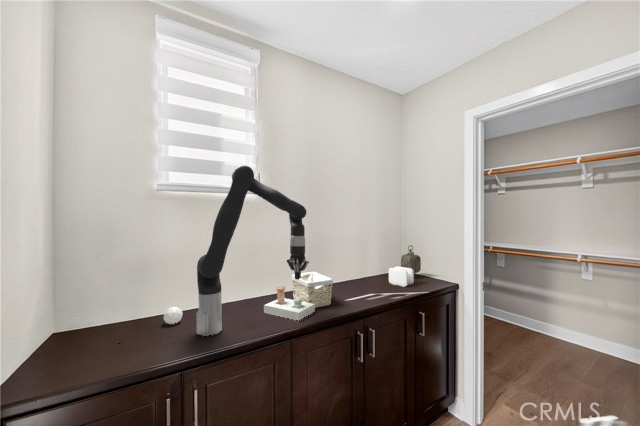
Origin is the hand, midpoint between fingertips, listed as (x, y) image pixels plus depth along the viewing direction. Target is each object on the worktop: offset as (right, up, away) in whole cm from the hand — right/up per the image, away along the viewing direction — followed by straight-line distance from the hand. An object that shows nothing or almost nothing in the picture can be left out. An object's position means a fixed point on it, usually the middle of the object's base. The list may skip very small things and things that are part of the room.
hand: (297, 279), depth 135 cm
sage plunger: (0, -17, 0) cm, 17 cm away
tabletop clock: (+83, -17, +74) cm, 112 cm away
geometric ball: (-58, -19, -10) cm, 61 cm away
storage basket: (+6, -18, +19) cm, 27 cm away
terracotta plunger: (-9, -13, +6) cm, 17 cm away
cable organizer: (+69, -18, +55) cm, 89 cm away
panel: (-5, -18, +3) cm, 19 cm away
